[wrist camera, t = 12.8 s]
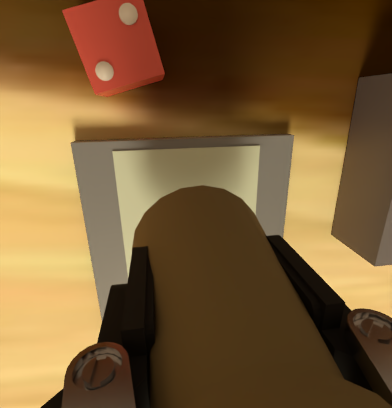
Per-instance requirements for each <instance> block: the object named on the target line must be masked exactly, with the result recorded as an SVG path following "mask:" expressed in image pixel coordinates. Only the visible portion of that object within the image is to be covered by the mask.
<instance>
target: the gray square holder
mask: <svg viewBox="0 0 392 408" xmlns="http://www.w3.org/2000/svg"><path fill="white" fill-rule="evenodd" d="M331 235H332V236H334V237H335V238H337V239H338V240H339V241H341V242H342V243H343V244H345V245H346V246H347V247H349V248H350V249H352V250H353V251H354V252H356V253H357V254H358V255H360V256H361V257H363V258H364V259H365V260H367V261H368V262H369V263H371V264H372V265H373V266H383V265H392V73H389V74H382V75H375V76H368V77H360V78H359V80H358V86H357V91H356V97H355V103H354V108H353V114H352V120H351V125H350V131H349V137H348V142H347V148H346V154H345V159H344V165H343V171H342V176H341V182H340V188H339V193H338V199H337V205H336V210H335V216H334V222H333V227H332V233H331Z"/></svg>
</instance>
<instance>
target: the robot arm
mask: <svg viewBox="0 0 392 408" xmlns="http://www.w3.org/2000/svg"><path fill="white" fill-rule="evenodd" d="M266 238H267V239H268V241H269V243H270V245H271V247H272V249H273V251H274V253H275V255H276V257H277V259H278V261H279V263H280V264H281V266H282V268H283V269H284V271H285V273H286V275H287V276H288V278H289V280H290V281H291V283H292V285H293V286H294V288H295V290H296V292H297V293H298V295H299V297H300V298H301V300H302V302H303V304H304V306H305V307H306V309H307V311H308V313H309V315H310V317H311V318H312V320H313V322H314V324H315V326H316V328H317V329H318V331H319V333H320V335H321V337H322V339H323V341H324V342H325V344H326V346H327V348H328V350H329V352H330V353H331V355H332V357H333V359H334V361H335V363H336V364H337V366H338V368H339V370H340V372H341V374H342V375H343V377H344V379H345V380H347V381H349V382H352V383H354V384H356V385H358V386H360V387H363V388H365V389H367V390H369V391H372V392H374V393H376V394H378V395H379V396H380V397H381V398H382V399H384V400H385V401H386V402H387V403H388V404H389V405H390V406H392V318H391V317H389V316H387V315H385V314H383V313H381V312H378V311H374V310H371V309H355V310H353V311H351V310H350V309H349V308H348V307H347V306H346V305H345V302H344V301H343V300H342V299H341V298H340V297H339V295H338V294H337V293H336V292H335V291H334V290H333V289H332V288H331V287H330V286H329V285H328V284H327V283H326V282H325V281H324V280H323V279H322V278H321V277H320V276H319V275H318V274H317V273H316V272H315V271H314V270H313V269H312V268H311V267H310V266H309V265H308V264H307V263H306V262H305V261H304V260H303V259H302V257H301V256H300V255H299V254H298V253H297V252H296V251H295V250H294V249H293V248H292V247H291V246H290V245H289V244H288V243H287V242H286V241H285V240H284V239H283V238H282V237H281V236H280V235H270V236H266ZM154 343H155V325H154V281H153V273H152V269H151V265H150V261H149V258H148V254H147V246H143V247H133V249H132V255H131V262H130V269H129V276H128V283H126V284H116V285H111V287H110V291H109V295H108V300H107V304H106V308H105V312H104V316H103V321H102V325H101V329H100V333H99V338H98V342H97V344H94V345H92V346H89V347H87V348H86V349H84V350H83V351H81V352H80V353H79V354H78V355H77V356H76V357H75V358H74V359H73V360H72V361H71V363H70V365H69V366H68V368H67V371H66V374H65V380H64V388H63V389H62V390H61V391H60V392H59V393H57V394H56V395H55V396H54V397H53V398H51V399H50V400H49V401H48V402H47V403H45V404H44V405H43V406H42V407H41V408H150V401H149V383H148V359H149V355H150V350H151V348H152V346H153V345H154Z"/></svg>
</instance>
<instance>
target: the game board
mask: <svg viewBox="0 0 392 408" xmlns="http://www.w3.org/2000/svg"><path fill="white" fill-rule="evenodd" d="M293 140H294V135H291V134H267V135H237V136H206V137H176V138H146V139H116V140H86V141H74V142H71V147H72V153H73V158H74V164H75V170H76V175H77V181H78V187H79V192H80V198H81V204H82V210H83V215H84V221H85V227H86V232H87V238H88V244H89V249H90V255H91V261H92V266H93V272H94V278H95V283H96V289H97V295H98V301H99V306H100V312H101V318H102V321H103V316H104V312H105V308H106V304H107V300H108V295H109V291H110V287H111V285H116V284H126V283H128V276H129V269H130V262H131V255H132V245H133V239H134V233H135V229H136V227H137V226H138V224H139V222H140V220H141V218H142V216H143V215H144V213H145V212H146V211H147V210H148V209H149V208H150V207H151V206H152V205H153V204H154V203H156V202H157V201H158V200H159V199H160V198H161V197H163V196H165V195H167V194H170V193H172V192H174V191H176V190H178V189H180V188H186V187H193V186H201V185H205V186H211V187H217V188H222V189H225V190H227V191H229V192H231V193H233V194H234V195H236V196H238V197H240V198H242V199H243V201H244V202H245V203H246V204H247V205H248V206H249V207H250V208H251V210H252V211H253V212H254V213H255V215H256V217H257V219H258V221H259V223H260V224H261V226H262V228H263V230H264V232H265V234H266V236H270V235H280V236H281V237H282V238H283V233H284V224H285V214H286V205H287V196H288V186H289V177H290V168H291V159H292V149H293Z"/></svg>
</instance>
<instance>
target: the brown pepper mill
mask: <svg viewBox="0 0 392 408" xmlns="http://www.w3.org/2000/svg"><path fill="white" fill-rule="evenodd" d="M143 246H147V254H148V258H149V261H150V265H151V269H152V273H153V281H154V325H155V343H154V345H153V346H152V348H151V350H150V355H149V359H148V383H149V401H150V408H392V406H390V405H389V404H388V403H387V402H386V401H385V400H384V399H382V398H381V397H380V396H379V395H378V394H376V393H374V392H372V391H369V390H367V389H365V388H363V387H360V386H358V385H356V384H354V383H352V382H349V381H347V380H345V379H344V377H343V375H342V374H341V372H340V370H339V368H338V366H337V364H336V363H335V361H334V359H333V357H332V355H331V353H330V352H329V350H328V348H327V346H326V344H325V342H324V341H323V339H322V337H321V335H320V333H319V331H318V329H317V328H316V326H315V324H314V322H313V320H312V318H311V317H310V315H309V313H308V311H307V309H306V307H305V306H304V304H303V302H302V300H301V298H300V297H299V295H298V293H297V292H296V290H295V288H294V286H293V285H292V283H291V281H290V280H289V278H288V276H287V275H286V273H285V271H284V269H283V268H282V266H281V264H280V263H279V261H278V259H277V257H276V255H275V253H274V251H273V249H272V247H271V245H270V243H269V241H268V239H267V238H266V234H265V232H264V230H263V228H262V226H261V224H260V223H259V221H258V219H257V217H256V215H255V213H254V212H253V211H252V210H251V208H250V207H249V206H248V205H247V204H246V203H245V202H244V201H243V199H242V198H240V197H238V196H236V195H234V194H233V193H231V192H229V191H227V190H225V189H222V188H217V187H211V186H205V185H201V186H193V187H186V188H180V189H178V190H176V191H174V192H172V193H170V194H167V195H165V196H163V197H161V198H160V199H159V200H158V201H157V202H156V203H154V204H153V205H152V206H151V207H150V208H149V209H148V210H147V211H146V212H145V213H144V215H143V216H142V218H141V220H140V222H139V224H138V226H137V227H136V229H135V233H134V239H133V245H132V249H133V247H143Z"/></svg>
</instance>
